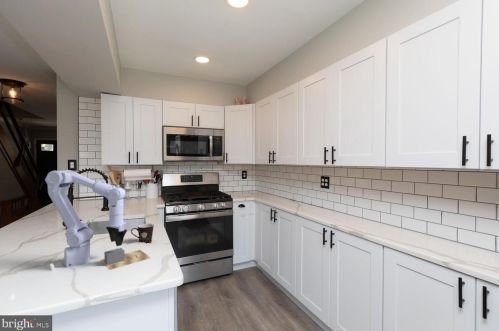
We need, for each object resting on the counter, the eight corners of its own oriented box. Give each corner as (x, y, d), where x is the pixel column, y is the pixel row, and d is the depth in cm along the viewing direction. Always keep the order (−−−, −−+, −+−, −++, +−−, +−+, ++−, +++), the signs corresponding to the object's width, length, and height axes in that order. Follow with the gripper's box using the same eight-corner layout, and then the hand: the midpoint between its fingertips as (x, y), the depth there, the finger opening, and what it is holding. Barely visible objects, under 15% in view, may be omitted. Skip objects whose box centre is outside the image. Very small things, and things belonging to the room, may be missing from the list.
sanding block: (107, 265, 104) (107, 254, 103) (104, 262, 107) (104, 251, 107) (124, 261, 108) (124, 250, 108) (121, 258, 112) (121, 247, 112)
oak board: (109, 272, 100) (109, 269, 100) (100, 262, 110) (100, 259, 110) (151, 260, 113) (151, 257, 113) (140, 252, 122) (140, 249, 122)
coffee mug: (156, 240, 140) (156, 224, 140) (146, 245, 132) (146, 228, 131) (140, 238, 143) (140, 222, 143) (129, 243, 135) (129, 226, 135)
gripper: (131, 215, 106) (131, 245, 106) (120, 210, 116) (120, 237, 116) (114, 218, 101) (113, 249, 101) (104, 212, 111) (104, 241, 111)
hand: (116, 243), depth 108 cm, fingers open, 7 cm apart
